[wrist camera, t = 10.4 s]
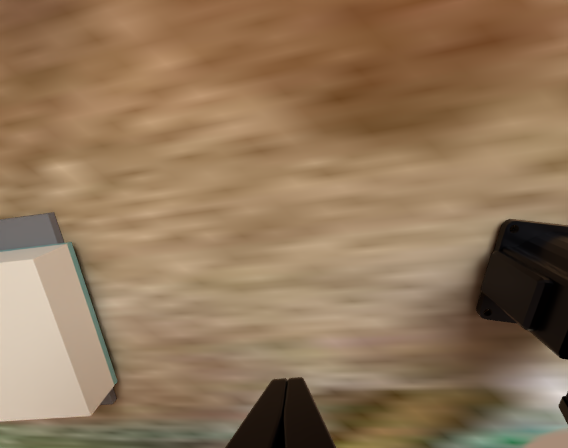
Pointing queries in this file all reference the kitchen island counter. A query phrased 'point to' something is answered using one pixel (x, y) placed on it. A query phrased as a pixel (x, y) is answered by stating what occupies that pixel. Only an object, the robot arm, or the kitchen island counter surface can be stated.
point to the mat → (35, 243)
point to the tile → (49, 337)
